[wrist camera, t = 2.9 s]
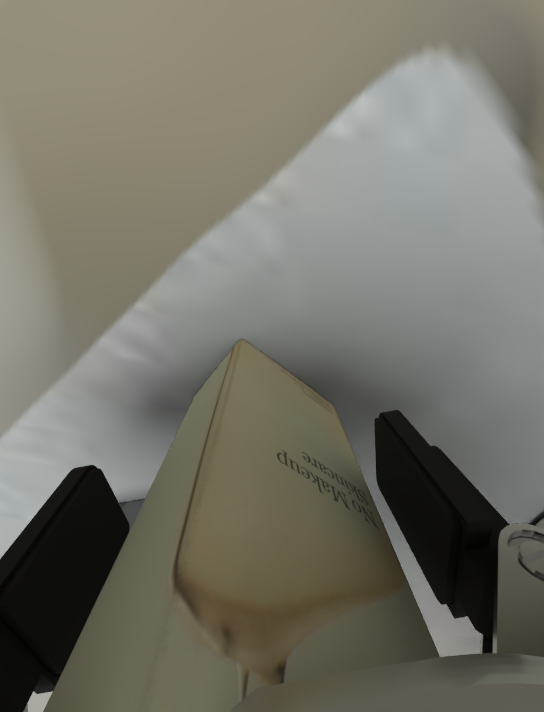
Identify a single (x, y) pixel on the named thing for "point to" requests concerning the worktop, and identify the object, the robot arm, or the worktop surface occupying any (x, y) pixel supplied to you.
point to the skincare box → (246, 561)
